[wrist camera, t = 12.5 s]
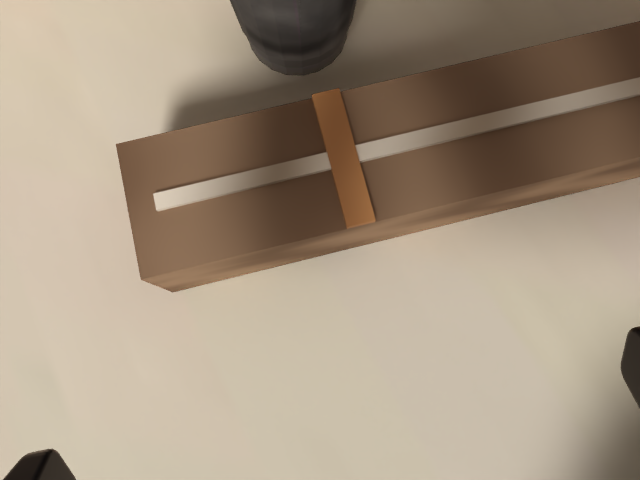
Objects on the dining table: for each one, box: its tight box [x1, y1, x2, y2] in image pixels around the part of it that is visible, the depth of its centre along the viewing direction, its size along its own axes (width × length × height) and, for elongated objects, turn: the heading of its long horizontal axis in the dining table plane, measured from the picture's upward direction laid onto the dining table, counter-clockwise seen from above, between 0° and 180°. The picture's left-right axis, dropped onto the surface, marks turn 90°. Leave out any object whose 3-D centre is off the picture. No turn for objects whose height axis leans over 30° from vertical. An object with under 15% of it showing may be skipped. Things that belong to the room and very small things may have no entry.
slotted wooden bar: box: [116, 21, 640, 292], centre depth 21 cm, size 26×5×4 cm, turn 104°
